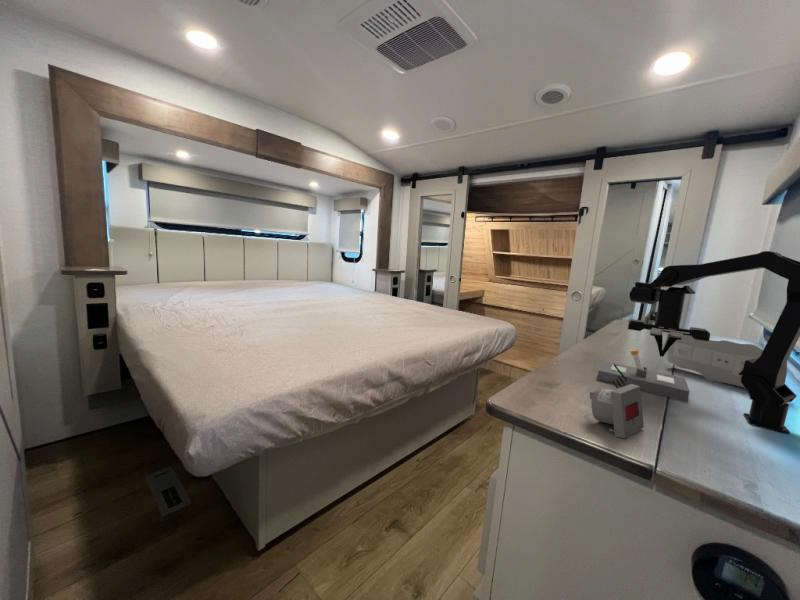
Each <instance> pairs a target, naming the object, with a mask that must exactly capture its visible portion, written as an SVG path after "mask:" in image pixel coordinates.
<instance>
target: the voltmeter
mask: <svg viewBox="0 0 800 600" xmlns="http://www.w3.org/2000/svg"><path fill="white" fill-rule="evenodd" d="M614 367H615V368H616V369H617V370H618V372H619V373H620V374H621V375H622V377H623V378H624V379H625V381H626V380H627V379H626V377H624V375H623V374H622V373H621V372H620V370H619V369H618V367H617V365H616V364H614ZM618 378H619V379H620V381H621V382H622V383H623V384H624V381H623V380H622V379H621V378H620V376H619V375H618ZM616 381H617V383H618V384H615V382H614V381H613V380H612V382H613V383H612V384H613V385H614V387H615V388H616V389H608V388H603V387H598V388H596V389H595V390H592V391H590V392H589V398H590V400H591V408H590V409H591V413H592V416H593V417H594V420H596V421H597V422H601V423H605V424H610V425H613V429H612V428H609V431H610V432H613V433H614V437H615V438H621V439H622V438H624V439H626V438H627V437H629V436H631V435H633V434H634V433H636V432H638V431H640V430H642V429H644V428H645V425H644V423H645V422H644V416H643V415H644V414H643V403H642V392H641V391H642V390H640V386H637V385H634V384H629V385H627V386H625V384H626V383H625V384H624V386H623V385H621V384H620V383H619V381H618V380H617V379H616Z"/></svg>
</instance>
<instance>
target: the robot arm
mask: <svg viewBox="0 0 800 600" xmlns="http://www.w3.org/2000/svg"><path fill="white" fill-rule="evenodd" d="M761 269H765V270H767V271H769V272H771V273H773V274H776V275H777V276H779V277H781V278H783V279H786V280H788V281H787V286H786V303H785V305H784V307H783V308H782V311H781V313H780V315H779V318H778V319H777V322H776V324H775V325H774V327H773V329H772V332H771V334H770V336H769V338H768V340H767V342H766V343H765V346H764V348H763V349H762V350H763V352H762V354H761V356H760V357H759V358H758V359H756V358H754V359H750V360H746V361H745V363H744V368H743V370H742V371H741V372H740V373H739V375H742V377H741V383H742V384H743V386H742V387H744V388H745V389H746V390H747V392H748V395H749V399H750V400H751V404H750V409H749V413H746V412H743V416H744V418H745V419H746V422H747V423H748V424H749V425H754V426H757V427H761V428H764V429H768V430H774V431H777V432H781V433H784V434H789V435H790V434H791V431H790V430H789V429H788V428H787V427H786V425H785V423H786V419H787V415H788V411H789V408H790V405H789V404H788V403H792V402H793V401H795V399H796V398H797V394H796V393H795V392H794V391H793V390H792V389H790V387H789V386H788V385H787V384H786V379H787V374H788V360H789V358H790V356H791V354H792V352H793V351H794V348H795V346H796V344H797V343H798V341H799V339H800V261H798V260H795V259H792V258H789V257H787V256H785V255H782V254H781V253H779V252H777V251H776V252H775V251H770V250H766V251H761V252H758V253H757V252H756V253H753V254H748V255H742V256H738V257H733V258H732V257H731V258H726V259H722V260H717V261H711V262H706V263H700V264H678V265H667V266H665V267H663V269H662V270H661V271H660V273H659V275H658V276H657V277H656V278H655V279H654V280H653V281H651V282H650V283H648V282H644V281H635V283H634V286H633V287H632V288H631V290H630V291H629V299H630V302H633V303H638V304H639V303H640V304H644V305H645V304H646V305H655V304H656V303H658V305H657V311H653V310H650V312H649V319H648V321H649V322H653V324H651V323H645V320H641V319H633V318H632V319H630V320H629V321H628V326H627V330H631V331H637V332H641V331H643V330H649V336H653V337H654V340H655V342H656V345H657V350H658V354H659V356H660V357H661V358H663V357H664V356H665V355H666V354H667V353H668V349H669V348H670V347H671V345H672V344H673V343H674V342H675V341H676V340H682V338H681V336H682V335H689V336H692V337H693V338H694V339H696V340H703V341H709V340H711V332H710V331H708V329H706V328H702V327H692V326H690V327H689V328H688V329H687V328H682V327H680V326H681V319H682V315H683V314H682V313H683V308H684V303H685V299H686V298H685V297H686V295H695V294H696V291H695V290H694V289H693V288H691V286H690V285H688V284H691V283H694V282H697V281H700V280H702V279H705V278H710V277H716V276H722V275H728V274H734V273H735V274H736V273H741V272H747V271H754V270H755V271H756V270H761ZM678 286H679V287H678ZM680 286H682V287H680ZM663 288H664V289H663ZM665 288H666V289H665ZM663 333H667V336H666V339H665V342H664V345H663Z"/></svg>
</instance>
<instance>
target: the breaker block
mask: <svg viewBox="0 0 800 600" xmlns="http://www.w3.org/2000/svg"><path fill="white" fill-rule="evenodd" d="M614 364H616V365H617V367H618V369H619V370H620V372H621V373H622V374H623V375H624V377H626V379H627V380H626V381H625V379H624V378H623V377H622V375H621V374H620V373H619V372H618V370H617V369H616V368H615V367H614ZM643 368H644V370H641V369H637V367H636V366H635V367H634V366H630V365H625V364H620V363H615V362H611V361H607V360H602V363H601V364H600V366H599V369H598V370H597V371H598V372H597V377H596V379H597V380H598V381H599V380H600V381H604V382H607V383H611V384H614V383H613V382H612V380H613V381H614V382H615V384H616V385H619V384H618V383H617V381H616V379H617V380H618V381H619V383H620V384H621V385H622V387H624V384H625V383H626V384H625V386H627V385H629V384H634V385H637V386H640V391H644V392H649V393H652V394H656V395H661V396H665V397H668V398H671V399H677V400H680V401H684V402H688V401H689V396H690V388H689V386H688V383H687V380H686V378H685V377H683V376H679V375H678V376H677V375H672V374H669V373H668V374H667V373H663V372H658V371H653V370H648V367H647V366H643ZM618 375H619V376H620V378H621V379H622V380H623V381H624V384H623V383H622V382H621V381H620V379H619V378H618Z"/></svg>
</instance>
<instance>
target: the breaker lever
mask: <svg viewBox="0 0 800 600" xmlns="http://www.w3.org/2000/svg"><path fill="white" fill-rule="evenodd" d="M630 355H631V356H632V358H633V360H634V364H635V368H637V369H641V370H644V368H643V367H644V366H643V364H642V361H641V357H640V355H639V350H638V348H633V349H630Z"/></svg>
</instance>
